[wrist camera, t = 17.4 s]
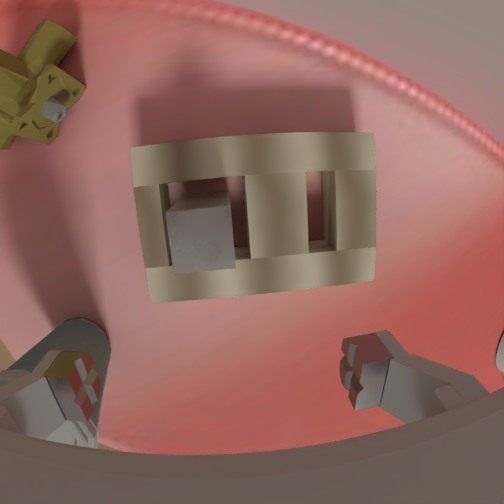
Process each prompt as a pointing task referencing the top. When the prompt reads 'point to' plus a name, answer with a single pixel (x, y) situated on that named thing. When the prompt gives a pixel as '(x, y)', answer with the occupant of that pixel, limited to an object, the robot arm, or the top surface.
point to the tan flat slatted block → (265, 211)
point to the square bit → (201, 233)
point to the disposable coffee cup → (70, 339)
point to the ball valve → (36, 86)
